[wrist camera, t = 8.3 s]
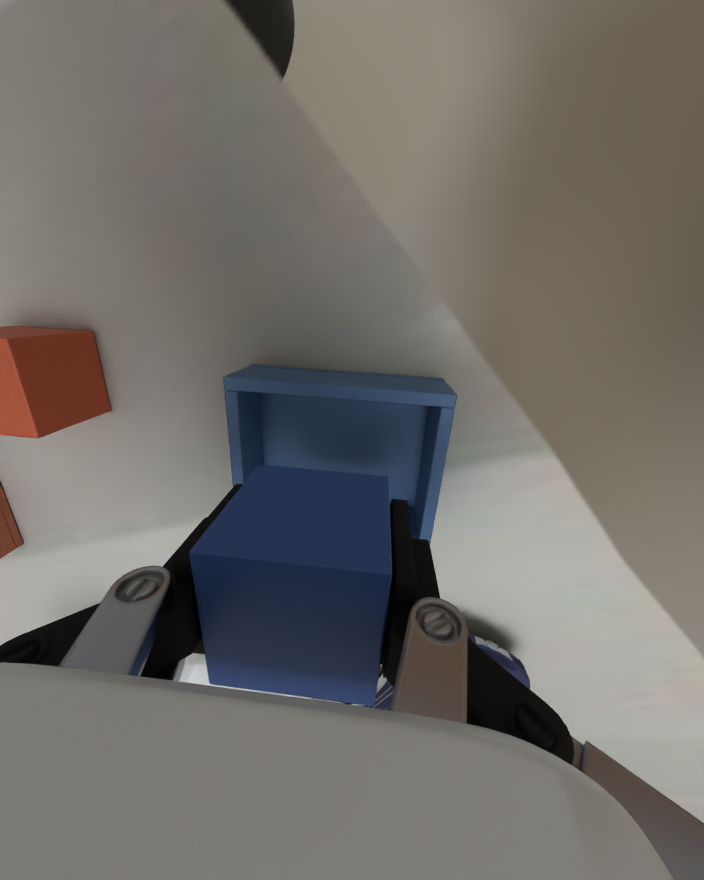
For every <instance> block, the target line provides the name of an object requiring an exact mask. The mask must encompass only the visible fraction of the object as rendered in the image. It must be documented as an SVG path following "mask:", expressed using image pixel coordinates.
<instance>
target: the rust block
mask: <svg viewBox="0 0 704 880" xmlns="http://www.w3.org/2000/svg"><path fill="white" fill-rule="evenodd" d="M109 411H111V409H110V404H109V400H108V395H107V391H106V387H105V382H104V378H103V373H102V369H101V364H100V360H99V355H98V351H97V346H96V342H95V338H94V333H93V332H92V331H81V330H67V329H52V328H38V327H24V326H4V327H0V435H7V436H18V437H30V438H40V437H43V436H46V435H48V434H51V433H54V432H56V431H59V430H61V429H64V428H67V427H69V426H72V425H75V424H77V423H80V422H83V421H85V420H88V419H91V418H93V417H96V416H99V415H101V414H104V413H106V412H109Z"/></svg>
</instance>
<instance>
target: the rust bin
mask: <svg viewBox="0 0 704 880" xmlns="http://www.w3.org/2000/svg"><path fill="white" fill-rule="evenodd" d="M22 544H23V541H22V539H21V536H20V533H19V531H18V528H17V526H16V523H15V521H14V518H13V516H12V513H11V510H10V508H9V505H8V503H7V500H6V498H5V495H4V492H3V490H2V487H1V485H0V559H1V558H2V557H4V556H5V555H7V554H8V553H10V552H11V551H13V550H14V549H16V548H17V547H19V546H21V545H22Z"/></svg>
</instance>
